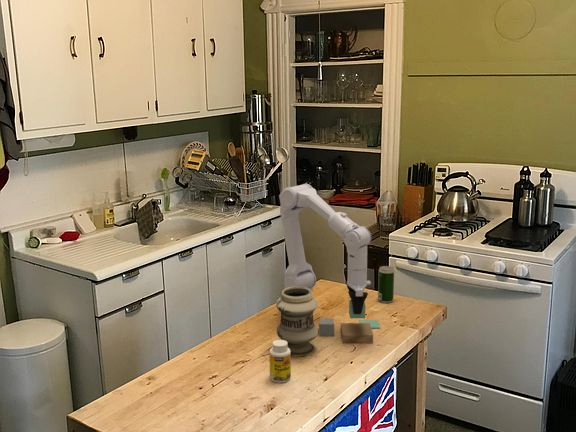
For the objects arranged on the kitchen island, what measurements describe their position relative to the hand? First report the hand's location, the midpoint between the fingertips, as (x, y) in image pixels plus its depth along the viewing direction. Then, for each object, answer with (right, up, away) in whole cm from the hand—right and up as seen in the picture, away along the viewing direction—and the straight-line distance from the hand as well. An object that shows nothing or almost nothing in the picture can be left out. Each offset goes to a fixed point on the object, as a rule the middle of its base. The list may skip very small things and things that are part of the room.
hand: (356, 310), depth 187 cm
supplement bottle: (-23, -15, -23) cm, 35 cm away
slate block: (-9, -8, +5) cm, 13 cm away
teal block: (0, -2, 0) cm, 2 cm away
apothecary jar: (-18, -11, -6) cm, 22 cm away
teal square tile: (+5, -6, +10) cm, 13 cm away
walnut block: (0, -9, +2) cm, 9 cm away
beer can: (+14, -1, +31) cm, 33 cm away
